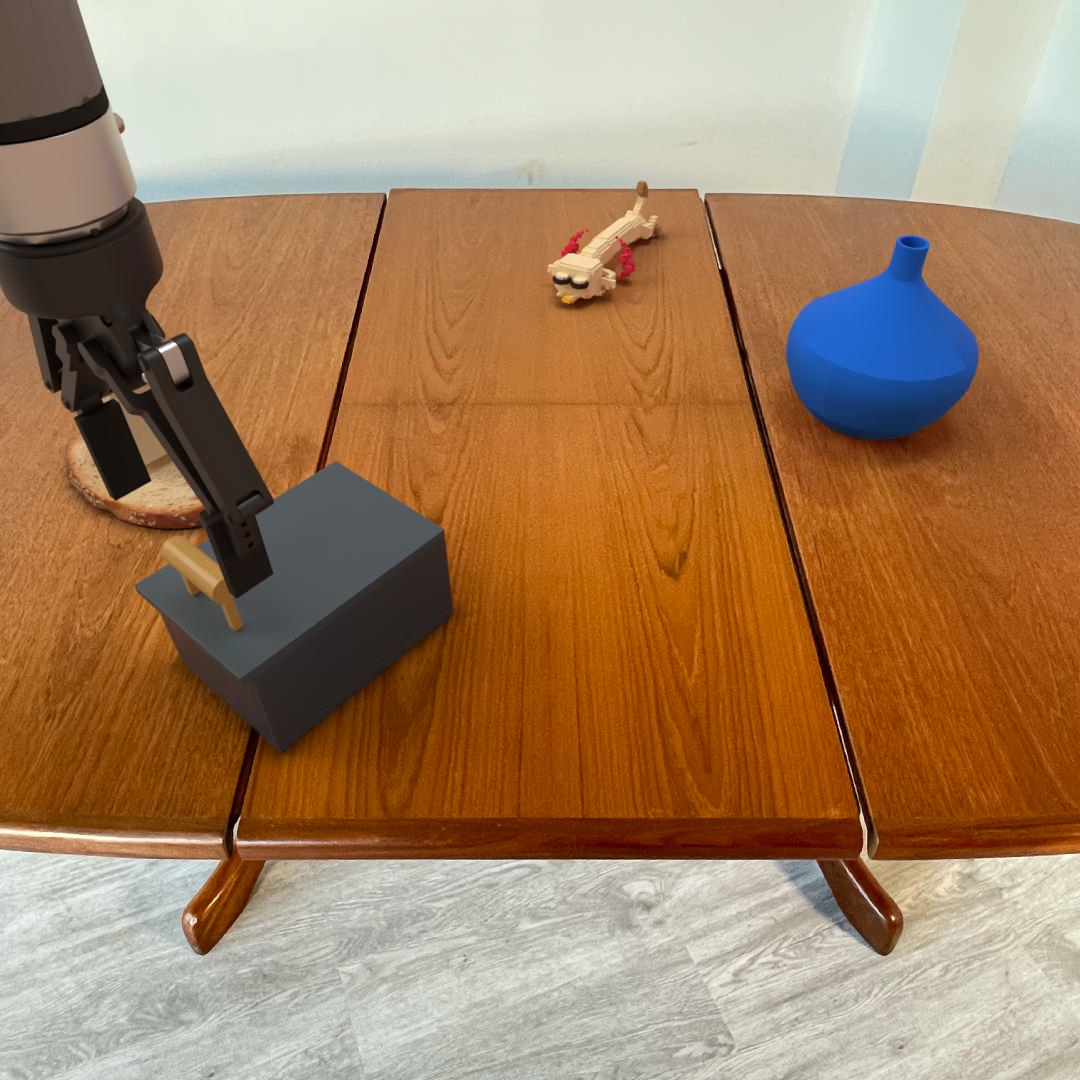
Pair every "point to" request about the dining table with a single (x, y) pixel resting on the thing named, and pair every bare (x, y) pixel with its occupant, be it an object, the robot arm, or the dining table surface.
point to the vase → (882, 352)
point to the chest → (333, 653)
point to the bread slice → (137, 491)
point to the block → (142, 432)
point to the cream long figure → (602, 254)
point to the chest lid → (291, 570)
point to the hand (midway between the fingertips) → (188, 533)
